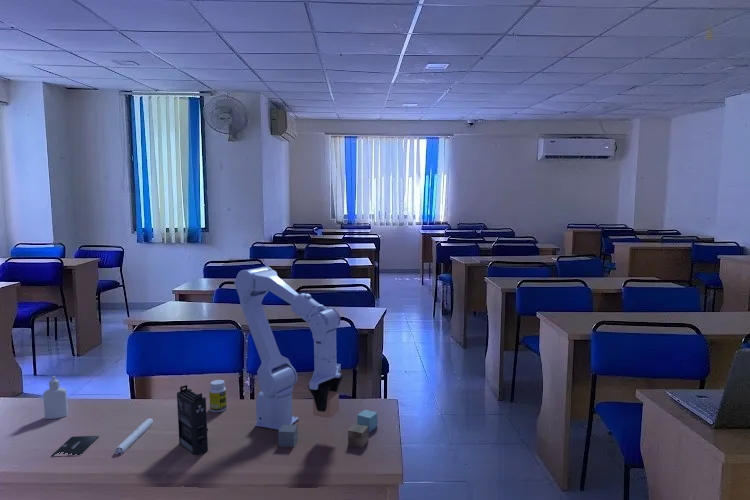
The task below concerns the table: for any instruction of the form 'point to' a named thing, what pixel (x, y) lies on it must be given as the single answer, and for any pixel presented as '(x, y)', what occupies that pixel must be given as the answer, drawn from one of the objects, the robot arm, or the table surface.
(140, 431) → the marker
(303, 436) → the table surface
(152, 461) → the table surface
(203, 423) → the geiger counter
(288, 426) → the charcoal block
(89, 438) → the solid state drive
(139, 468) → the table surface
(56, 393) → the eye dropper bottle
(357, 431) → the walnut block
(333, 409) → the terracotta block
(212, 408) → the supplement bottle
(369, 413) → the dull teal block
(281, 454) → the table surface
